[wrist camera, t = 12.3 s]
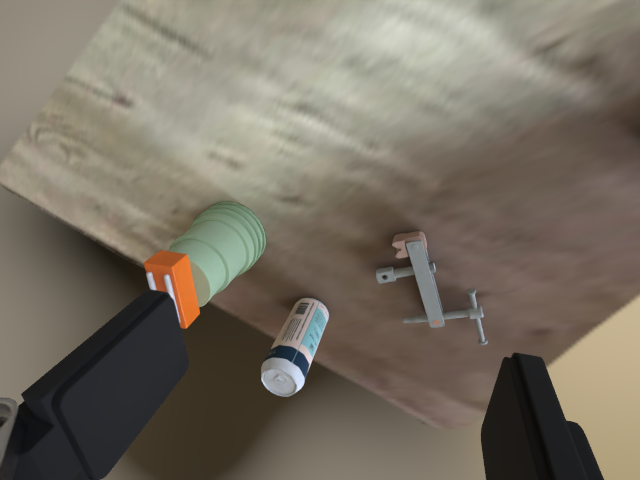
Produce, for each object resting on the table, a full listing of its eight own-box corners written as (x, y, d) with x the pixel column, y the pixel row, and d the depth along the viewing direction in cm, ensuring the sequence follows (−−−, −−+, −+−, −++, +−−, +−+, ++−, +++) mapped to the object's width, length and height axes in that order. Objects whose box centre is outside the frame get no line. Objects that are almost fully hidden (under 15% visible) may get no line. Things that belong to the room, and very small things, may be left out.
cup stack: (197, 198, 43) (133, 238, 34) (263, 204, 41) (214, 248, 32) (208, 259, 47) (153, 309, 38) (268, 267, 45) (226, 323, 36)
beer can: (288, 311, 48) (250, 381, 37) (305, 289, 45) (268, 357, 35) (318, 331, 48) (288, 406, 37) (336, 309, 45) (309, 383, 35)
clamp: (364, 248, 38) (464, 229, 34) (367, 239, 40) (462, 219, 36) (401, 355, 43) (490, 349, 39) (402, 343, 45) (488, 335, 41)
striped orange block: (160, 249, 34) (138, 265, 31) (188, 253, 33) (168, 269, 30) (174, 308, 37) (156, 327, 34) (200, 313, 36) (183, 332, 34)
